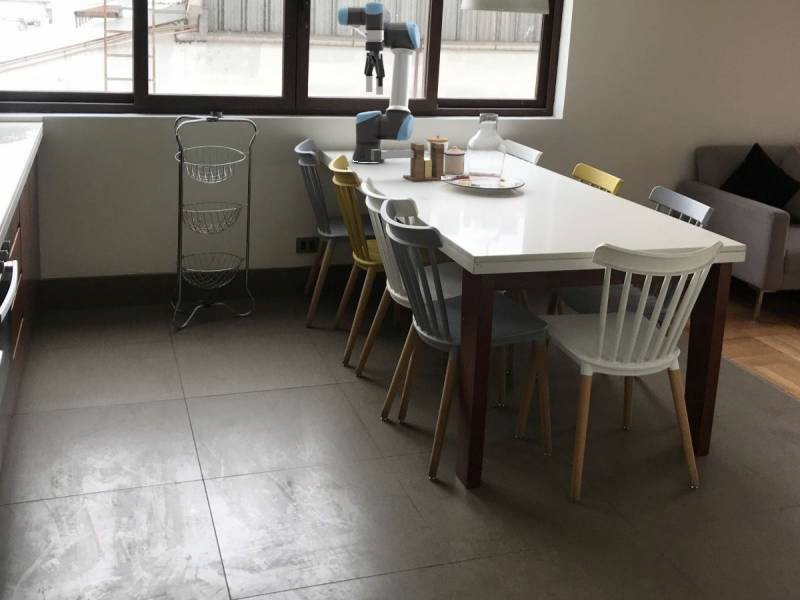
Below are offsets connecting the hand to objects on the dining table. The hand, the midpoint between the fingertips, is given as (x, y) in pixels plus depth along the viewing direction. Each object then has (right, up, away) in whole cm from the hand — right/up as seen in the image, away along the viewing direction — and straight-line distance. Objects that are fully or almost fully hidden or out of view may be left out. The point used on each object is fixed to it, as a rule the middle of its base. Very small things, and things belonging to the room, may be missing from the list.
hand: (374, 93), depth 400 cm
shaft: (+9, -29, -5) cm, 30 cm away
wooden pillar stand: (+22, -36, +3) cm, 42 cm away
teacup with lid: (+34, -31, +20) cm, 50 cm away
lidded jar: (+30, -15, +74) cm, 81 cm away
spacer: (+21, -35, +2) cm, 41 cm away
